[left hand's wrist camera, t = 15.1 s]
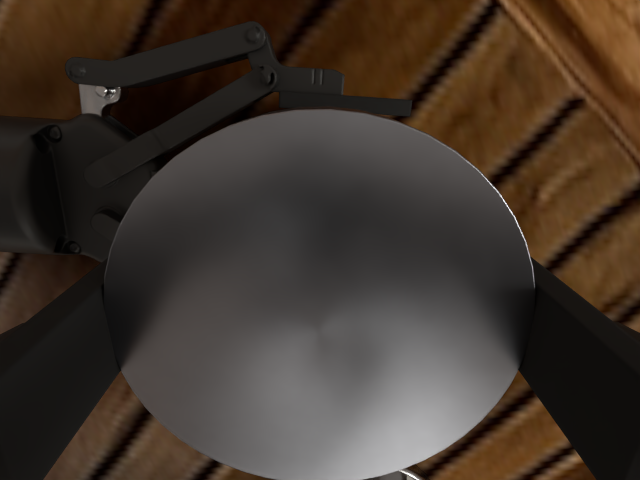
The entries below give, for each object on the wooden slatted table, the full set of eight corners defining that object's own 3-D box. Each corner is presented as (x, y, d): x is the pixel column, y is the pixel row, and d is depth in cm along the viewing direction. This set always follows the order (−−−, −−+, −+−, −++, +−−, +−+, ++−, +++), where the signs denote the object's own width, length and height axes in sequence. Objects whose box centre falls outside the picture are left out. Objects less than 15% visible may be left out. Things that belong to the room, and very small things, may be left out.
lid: (48, 261, 11) (8, 286, 10) (379, 4, 9) (390, -13, 8) (282, 487, 15) (278, 531, 13) (569, 341, 12) (602, 375, 11)
